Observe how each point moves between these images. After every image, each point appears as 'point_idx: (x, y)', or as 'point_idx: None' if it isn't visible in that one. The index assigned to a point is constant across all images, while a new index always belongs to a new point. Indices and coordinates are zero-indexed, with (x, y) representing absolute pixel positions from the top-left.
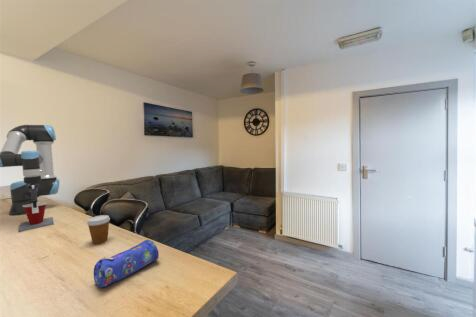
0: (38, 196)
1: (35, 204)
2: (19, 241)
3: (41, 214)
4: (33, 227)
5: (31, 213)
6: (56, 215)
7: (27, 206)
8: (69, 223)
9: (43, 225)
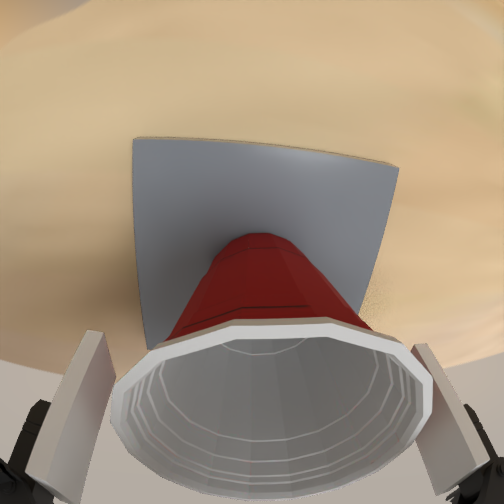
0: (6, 477)
1: (482, 441)
2: (483, 329)
3: (337, 291)
4: (363, 293)
5: (339, 385)
6: (51, 108)
7: (360, 477)
8: (464, 83)
9: (378, 236)
